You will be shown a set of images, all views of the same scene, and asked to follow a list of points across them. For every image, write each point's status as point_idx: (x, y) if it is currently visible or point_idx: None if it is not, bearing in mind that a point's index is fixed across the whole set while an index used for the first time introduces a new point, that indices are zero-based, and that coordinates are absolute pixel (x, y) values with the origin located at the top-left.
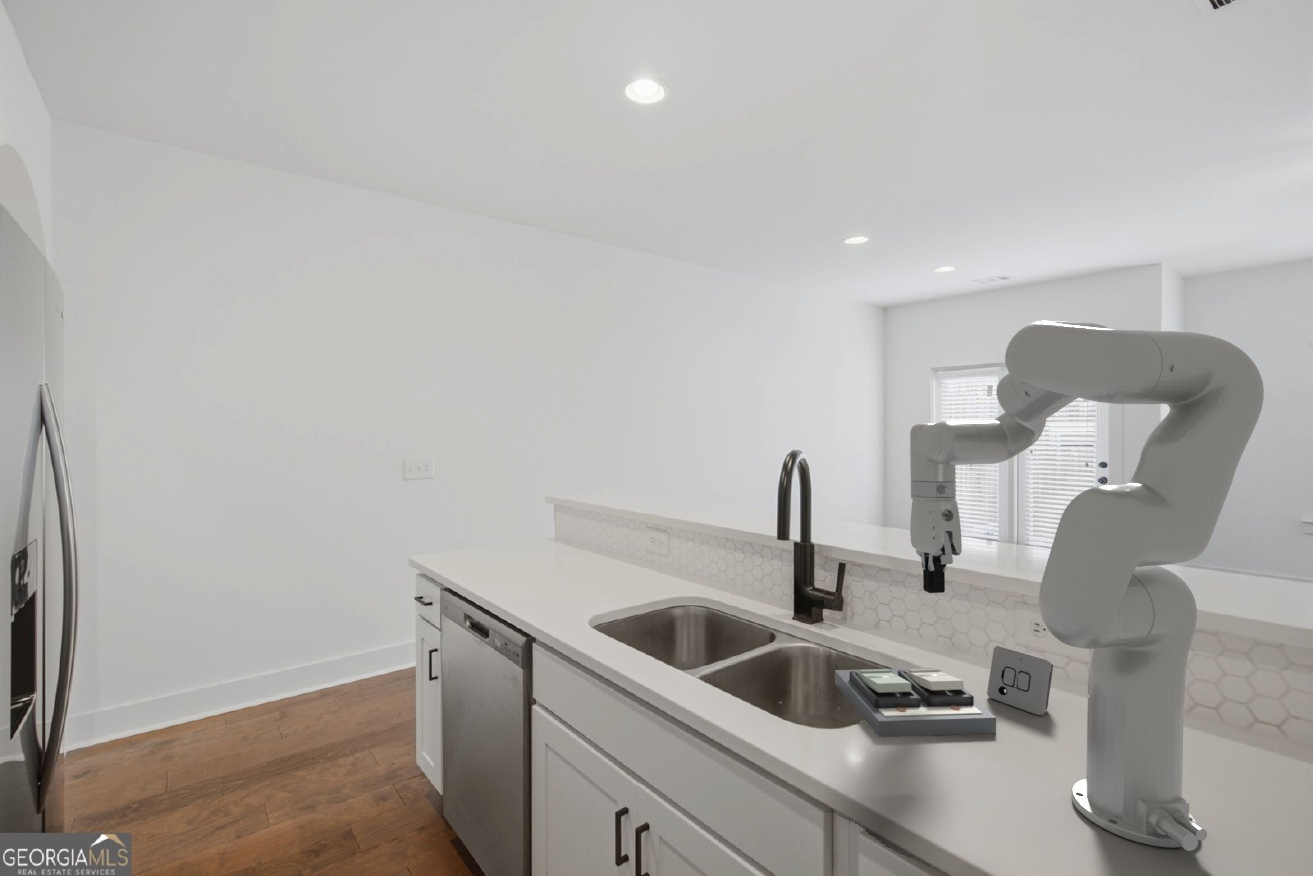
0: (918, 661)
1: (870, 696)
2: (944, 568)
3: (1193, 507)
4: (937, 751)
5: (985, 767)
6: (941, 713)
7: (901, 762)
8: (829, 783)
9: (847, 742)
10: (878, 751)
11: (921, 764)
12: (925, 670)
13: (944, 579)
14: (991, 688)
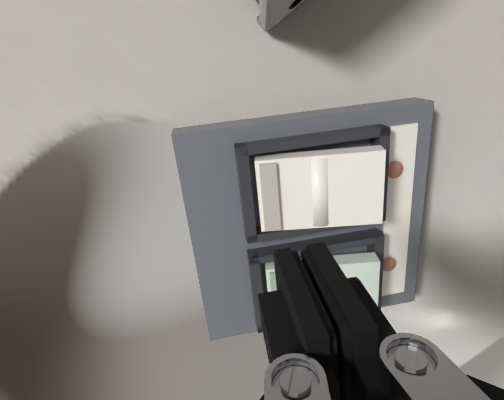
0: (34, 118)
1: None
2: (435, 360)
3: None
4: (449, 218)
5: (500, 166)
6: (410, 202)
7: (464, 271)
8: (484, 349)
9: (407, 324)
10: (434, 292)
11: (473, 248)
12: (278, 197)
13: (348, 283)
14: (274, 20)
